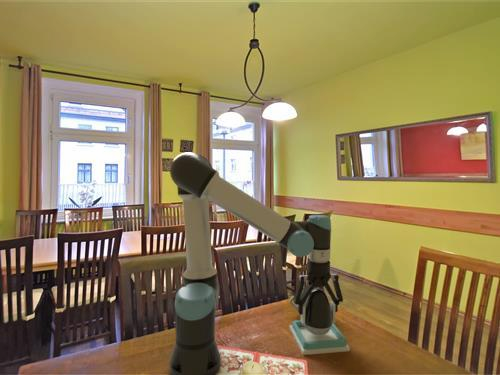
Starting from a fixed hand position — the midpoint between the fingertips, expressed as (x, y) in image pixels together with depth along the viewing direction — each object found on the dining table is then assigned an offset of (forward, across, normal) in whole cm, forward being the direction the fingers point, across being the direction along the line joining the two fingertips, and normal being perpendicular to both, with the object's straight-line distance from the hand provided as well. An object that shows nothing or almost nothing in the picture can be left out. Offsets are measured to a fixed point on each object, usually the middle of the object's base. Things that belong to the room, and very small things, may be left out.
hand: (317, 321), depth 101 cm
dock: (+6, 0, 0) cm, 6 cm away
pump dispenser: (+4, 0, 0) cm, 4 cm away
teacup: (+6, +2, +18) cm, 19 cm away
